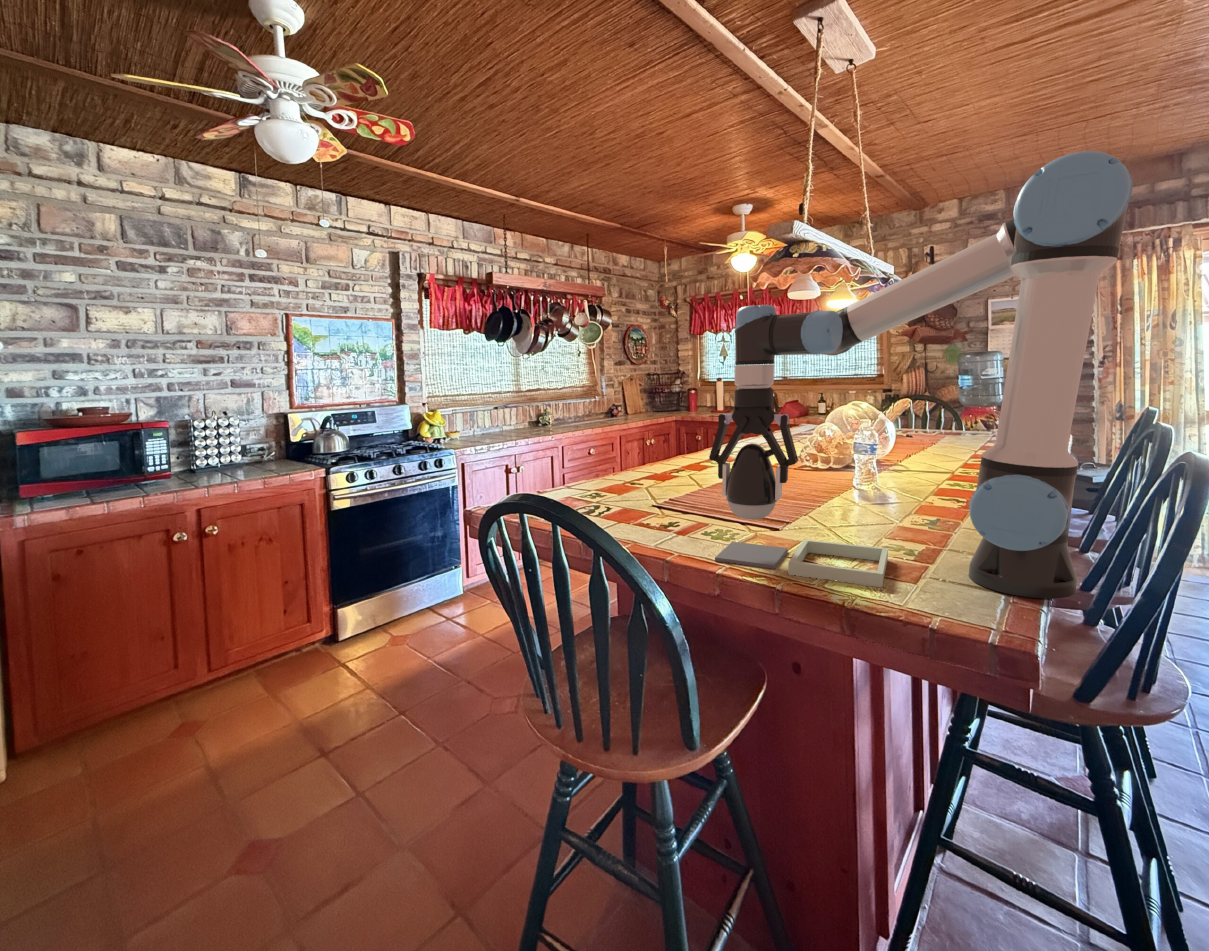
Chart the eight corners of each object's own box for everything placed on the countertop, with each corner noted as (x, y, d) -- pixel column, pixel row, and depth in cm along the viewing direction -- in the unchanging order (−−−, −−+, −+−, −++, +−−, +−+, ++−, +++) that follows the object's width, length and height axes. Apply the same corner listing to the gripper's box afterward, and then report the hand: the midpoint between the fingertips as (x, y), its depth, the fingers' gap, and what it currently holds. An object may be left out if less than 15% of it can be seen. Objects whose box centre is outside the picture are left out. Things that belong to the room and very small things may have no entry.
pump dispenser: (780, 523, 110) (782, 446, 107) (726, 522, 112) (727, 446, 110) (775, 510, 120) (777, 440, 117) (725, 509, 122) (726, 440, 119)
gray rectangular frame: (887, 560, 112) (888, 548, 112) (882, 587, 99) (882, 574, 98) (803, 550, 120) (804, 539, 120) (788, 574, 106) (788, 562, 106)
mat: (787, 551, 120) (787, 547, 120) (774, 569, 110) (774, 565, 109) (732, 544, 126) (732, 541, 125) (714, 561, 115) (714, 557, 115)
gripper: (817, 385, 109) (812, 497, 113) (705, 386, 120) (705, 488, 124) (810, 387, 103) (805, 505, 107) (693, 388, 114) (692, 495, 118)
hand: (751, 496), depth 115 cm, fingers closed on pump dispenser, 10 cm apart
